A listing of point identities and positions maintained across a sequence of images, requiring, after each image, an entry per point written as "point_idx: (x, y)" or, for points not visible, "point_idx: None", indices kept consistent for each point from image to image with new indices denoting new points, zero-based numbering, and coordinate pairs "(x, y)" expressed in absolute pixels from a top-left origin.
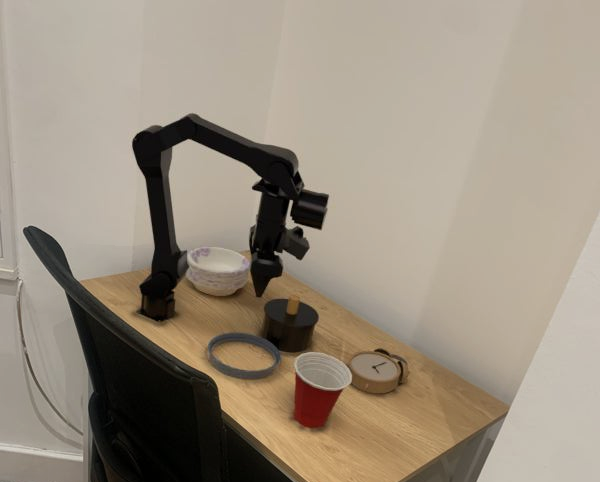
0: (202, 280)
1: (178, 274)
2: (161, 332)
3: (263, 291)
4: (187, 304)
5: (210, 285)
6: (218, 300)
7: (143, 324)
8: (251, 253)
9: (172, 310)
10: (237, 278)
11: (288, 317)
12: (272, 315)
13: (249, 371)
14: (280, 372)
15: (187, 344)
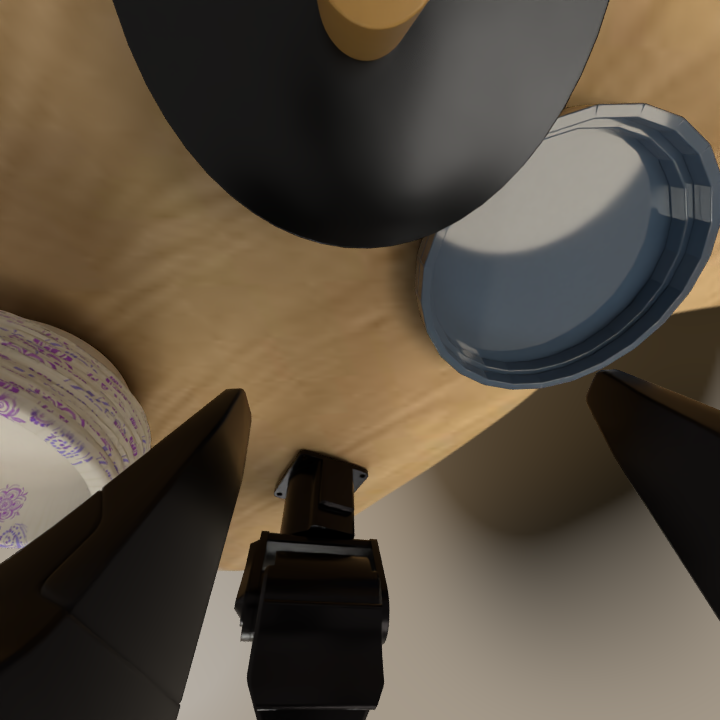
0: None
1: (380, 627)
2: (402, 461)
3: (696, 409)
4: None
5: (141, 433)
6: (139, 362)
7: (375, 490)
8: (175, 707)
9: (334, 477)
10: (34, 376)
11: (474, 40)
12: (460, 189)
13: (707, 257)
14: (638, 94)
15: (450, 411)
